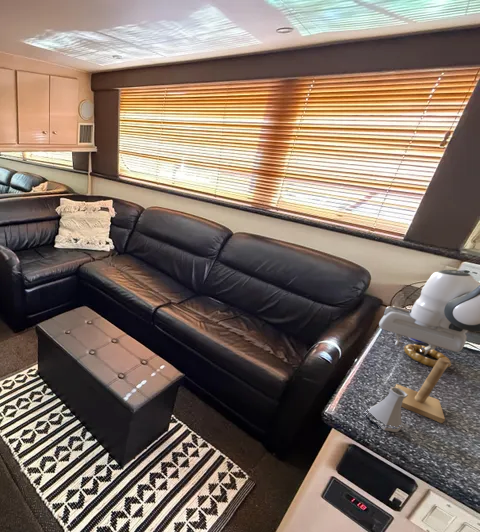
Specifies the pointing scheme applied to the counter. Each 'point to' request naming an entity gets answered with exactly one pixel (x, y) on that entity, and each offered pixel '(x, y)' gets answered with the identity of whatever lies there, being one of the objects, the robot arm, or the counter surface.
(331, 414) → the counter surface
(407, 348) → the ring
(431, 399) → the stand
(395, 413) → the flask
